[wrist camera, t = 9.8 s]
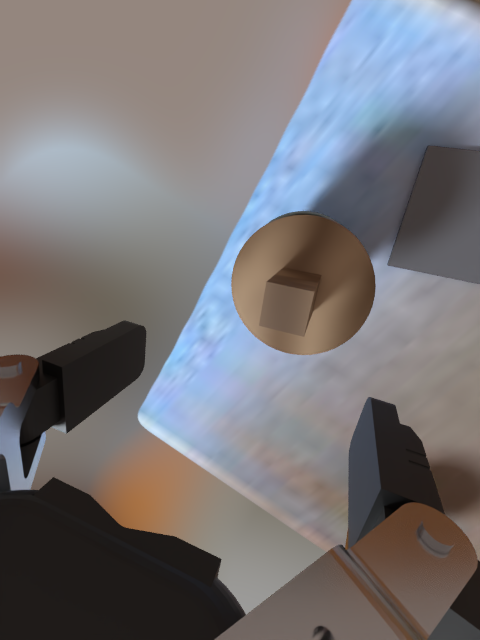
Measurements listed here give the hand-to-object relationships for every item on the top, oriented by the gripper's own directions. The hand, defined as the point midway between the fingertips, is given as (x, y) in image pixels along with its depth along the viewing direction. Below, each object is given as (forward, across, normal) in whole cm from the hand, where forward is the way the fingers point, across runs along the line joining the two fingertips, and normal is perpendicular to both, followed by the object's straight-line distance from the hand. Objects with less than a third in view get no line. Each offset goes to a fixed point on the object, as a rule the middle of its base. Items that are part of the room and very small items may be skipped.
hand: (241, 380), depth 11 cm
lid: (+18, 0, +1) cm, 18 cm away
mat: (+30, -14, -7) cm, 34 cm away
